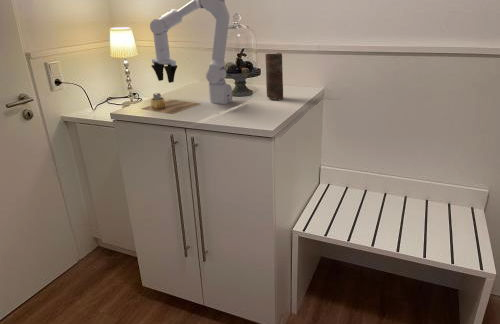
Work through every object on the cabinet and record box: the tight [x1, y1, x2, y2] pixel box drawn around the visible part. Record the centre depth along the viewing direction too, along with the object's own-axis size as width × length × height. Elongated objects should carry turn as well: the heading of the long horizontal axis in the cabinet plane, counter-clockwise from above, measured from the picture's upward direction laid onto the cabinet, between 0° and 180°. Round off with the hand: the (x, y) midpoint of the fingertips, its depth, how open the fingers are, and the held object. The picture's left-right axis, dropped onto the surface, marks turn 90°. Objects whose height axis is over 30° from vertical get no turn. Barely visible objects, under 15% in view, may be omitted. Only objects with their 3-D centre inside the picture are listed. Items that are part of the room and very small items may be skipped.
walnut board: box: [140, 99, 201, 115], centre depth 158 cm, size 18×18×1 cm
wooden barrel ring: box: [150, 96, 166, 109], centre depth 156 cm, size 5×5×4 cm
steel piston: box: [152, 92, 162, 100], centre depth 156 cm, size 3×3×6 cm
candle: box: [265, 52, 284, 101], centre depth 164 cm, size 8×7×20 cm
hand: (166, 81), depth 165 cm, fingers open, 7 cm apart
